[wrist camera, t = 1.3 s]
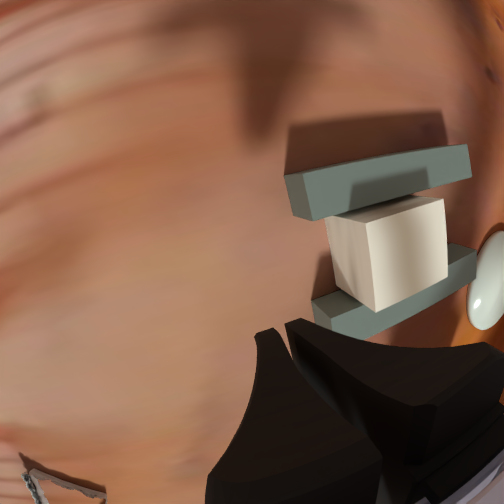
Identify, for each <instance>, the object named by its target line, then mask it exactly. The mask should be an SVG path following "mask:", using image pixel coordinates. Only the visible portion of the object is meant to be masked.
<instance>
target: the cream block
mask: <svg viewBox="0 0 504 504" xmlns="http://www.w3.org/2000/svg"><path fill="white" fill-rule="evenodd" d="M324 220H325V225H326V230H327V235H328V240H329V246H330V251H331V257H332V263H333V269H334V275H335V281H336V286H338V287H339V288H341V289H342V290H344V291H345V292H347V293H348V294H349V295H351V296H352V297H354V298H355V299H357V300H358V301H360V302H361V303H363V304H364V305H365V306H367V307H368V308H370V309H371V310H373V311H374V312H378V311H380V310H383V309H385V308H387V307H389V306H391V305H393V304H395V303H398V302H400V301H402V300H404V299H406V298H408V297H410V296H412V295H414V294H416V293H418V292H420V291H422V290H424V289H426V288H428V287H430V286H431V285H433V284H435V283H437V282H439V281H441V280H443V279H445V278H446V277H448V257H447V234H446V220H445V209H444V200H443V199H440V198H431V197H422V196H412V195H404V196H401V197H397V198H393V199H390V200H386V201H383V202H379V203H376V204H372V205H368V206H365V207H361V208H358V209H354V210H351V211H347V212H344V213H340V214H337V215H333V216H330V217H326V218H324Z"/></svg>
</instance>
